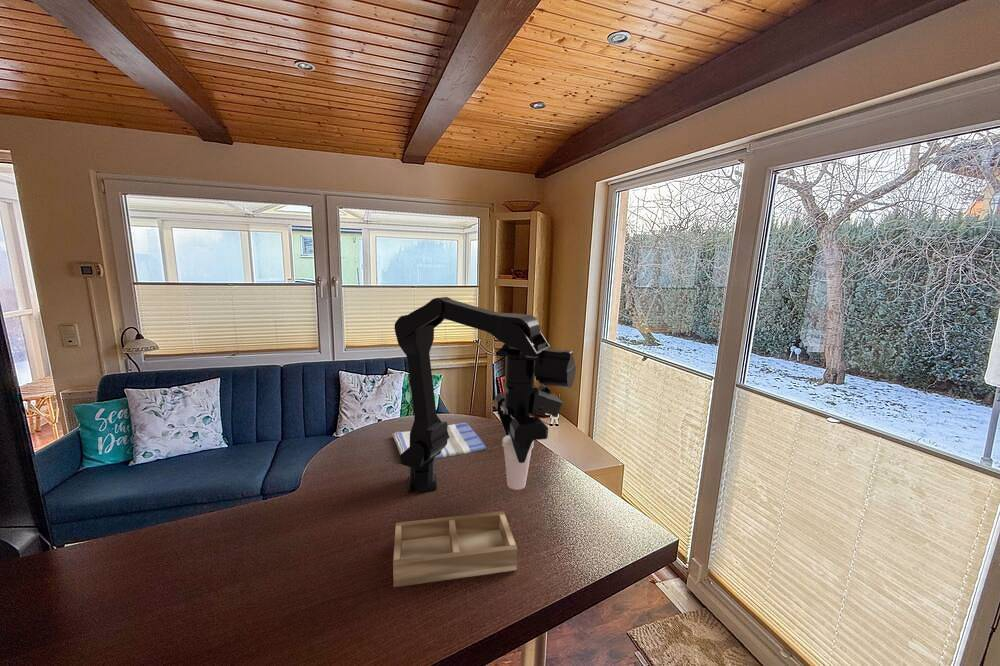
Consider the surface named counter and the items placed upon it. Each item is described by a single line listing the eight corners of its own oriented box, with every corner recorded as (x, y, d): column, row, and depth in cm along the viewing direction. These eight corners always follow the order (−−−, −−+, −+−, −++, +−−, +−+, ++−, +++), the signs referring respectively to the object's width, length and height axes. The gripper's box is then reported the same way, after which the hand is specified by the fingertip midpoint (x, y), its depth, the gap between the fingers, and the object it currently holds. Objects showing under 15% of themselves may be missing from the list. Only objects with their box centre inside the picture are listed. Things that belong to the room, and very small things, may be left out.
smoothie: (530, 495, 78) (532, 427, 76) (497, 491, 80) (499, 424, 77) (533, 478, 85) (536, 415, 82) (503, 474, 86) (505, 412, 83)
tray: (396, 542, 74) (395, 522, 73) (503, 530, 78) (503, 511, 77) (393, 587, 63) (393, 564, 63) (516, 570, 68) (517, 548, 67)
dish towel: (391, 438, 118) (391, 429, 118) (468, 428, 127) (468, 420, 126) (399, 466, 102) (399, 456, 102) (487, 453, 111) (487, 443, 110)
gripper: (577, 393, 71) (572, 474, 74) (544, 366, 89) (541, 433, 92) (516, 395, 69) (513, 480, 71) (494, 368, 87) (493, 436, 89)
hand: (517, 454), depth 81 cm, fingers closed on smoothie, 6 cm apart
